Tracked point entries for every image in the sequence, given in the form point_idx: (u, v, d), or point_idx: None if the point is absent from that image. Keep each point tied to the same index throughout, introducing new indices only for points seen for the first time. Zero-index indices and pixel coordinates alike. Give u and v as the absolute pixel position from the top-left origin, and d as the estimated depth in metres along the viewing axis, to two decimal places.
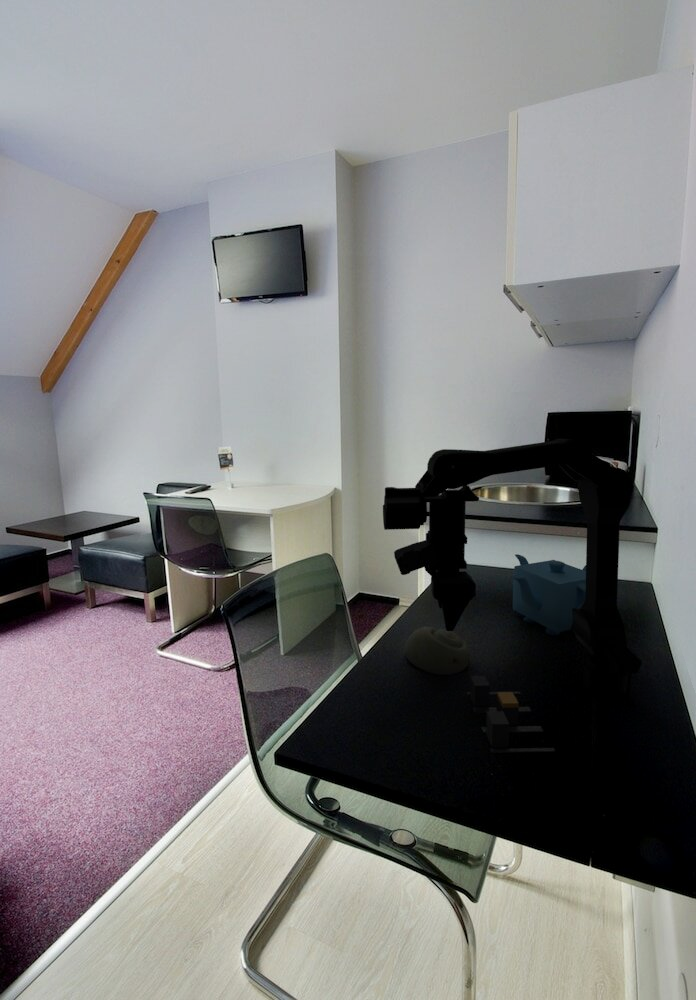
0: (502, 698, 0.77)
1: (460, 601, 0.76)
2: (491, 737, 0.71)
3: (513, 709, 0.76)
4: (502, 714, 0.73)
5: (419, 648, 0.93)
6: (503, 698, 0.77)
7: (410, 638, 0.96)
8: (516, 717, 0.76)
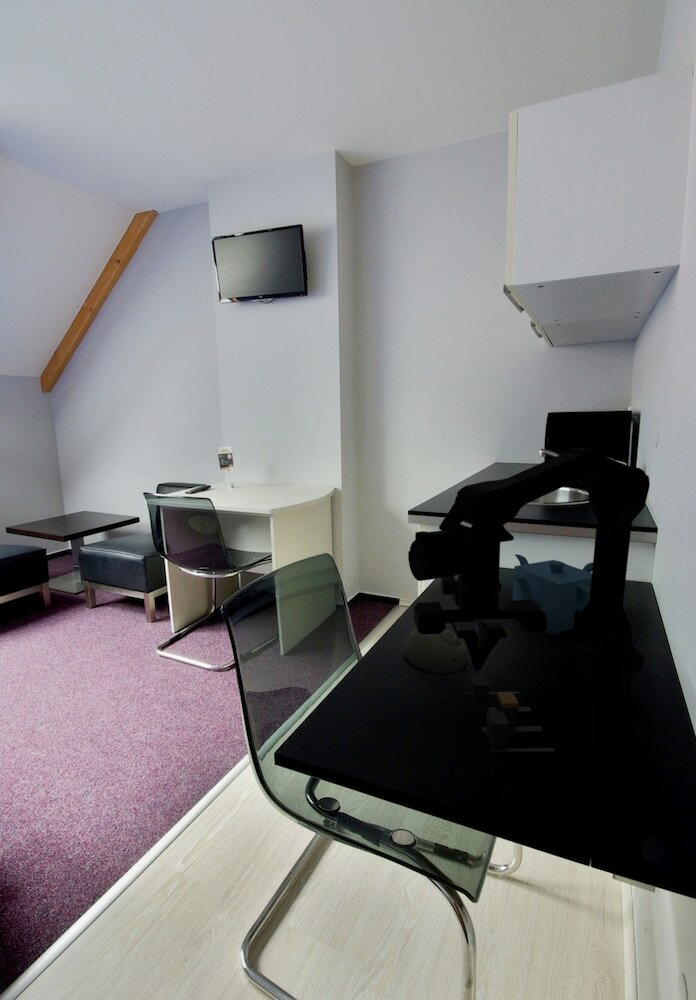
0: (502, 698, 0.77)
1: None
2: (491, 737, 0.71)
3: (513, 709, 0.76)
4: (502, 714, 0.73)
5: (418, 647, 0.93)
6: (503, 698, 0.77)
7: (408, 637, 0.97)
8: (516, 717, 0.76)
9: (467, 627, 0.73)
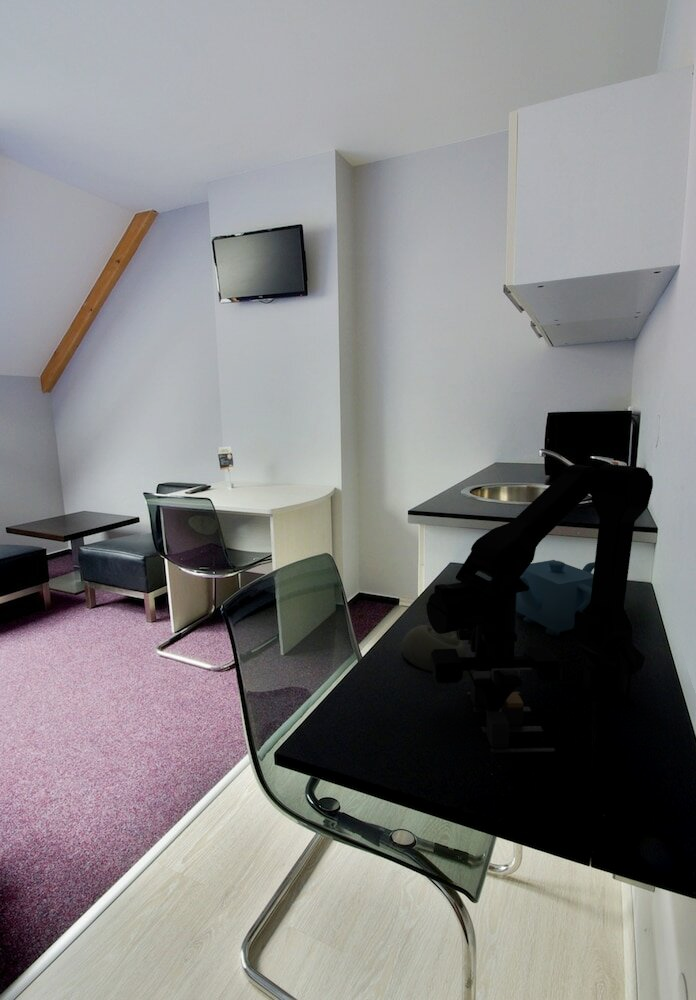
0: (507, 698, 0.77)
1: None
2: (491, 737, 0.71)
3: (517, 709, 0.76)
4: (502, 714, 0.73)
5: (417, 646, 0.93)
6: (508, 698, 0.77)
7: (407, 637, 0.97)
8: (521, 717, 0.76)
9: (484, 676, 0.74)
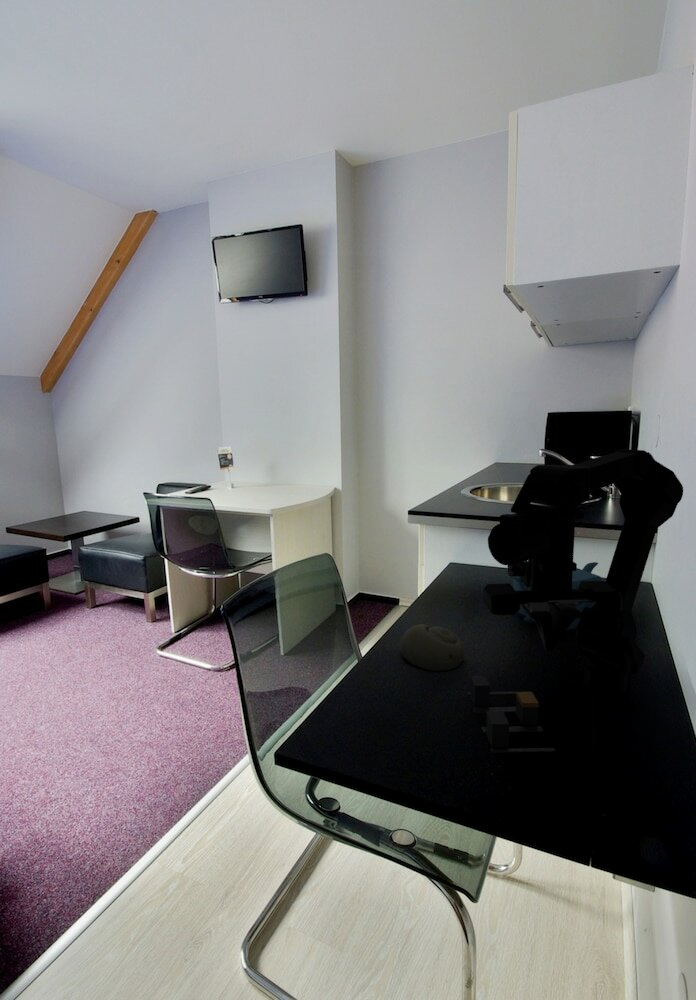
0: (522, 698, 0.77)
1: None
2: (491, 737, 0.71)
3: (533, 708, 0.76)
4: (502, 714, 0.73)
5: (415, 645, 0.94)
6: (523, 698, 0.77)
7: (405, 636, 0.97)
8: (536, 717, 0.76)
9: (541, 608, 0.72)
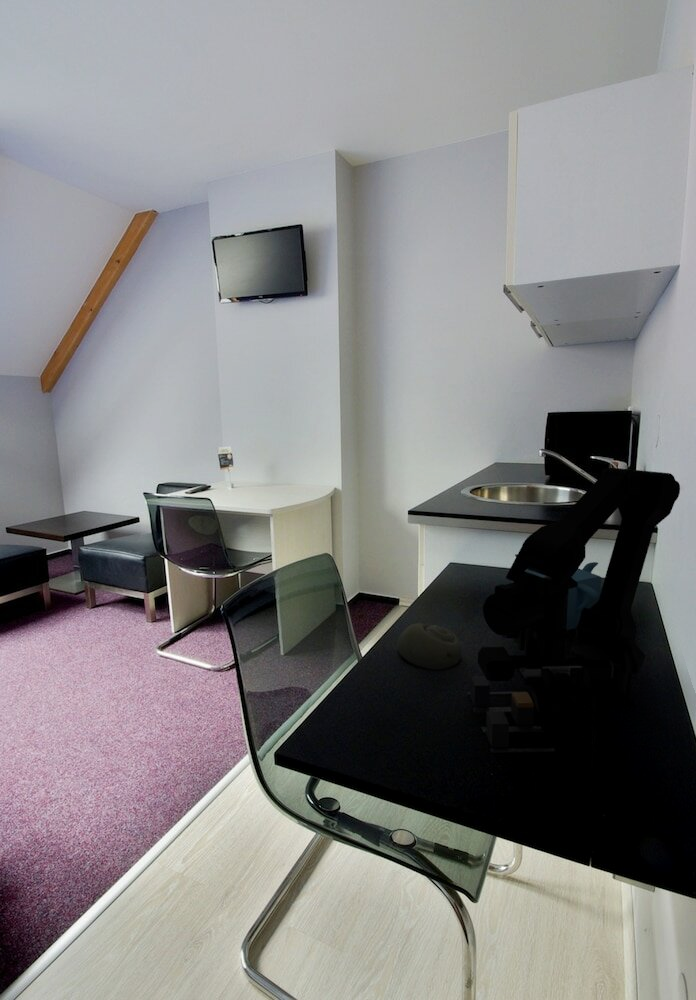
0: (517, 698, 0.77)
1: None
2: (491, 737, 0.71)
3: (528, 709, 0.76)
4: (502, 714, 0.73)
5: (414, 644, 0.94)
6: (518, 698, 0.77)
7: (403, 635, 0.98)
8: (531, 717, 0.76)
9: (535, 674, 0.74)
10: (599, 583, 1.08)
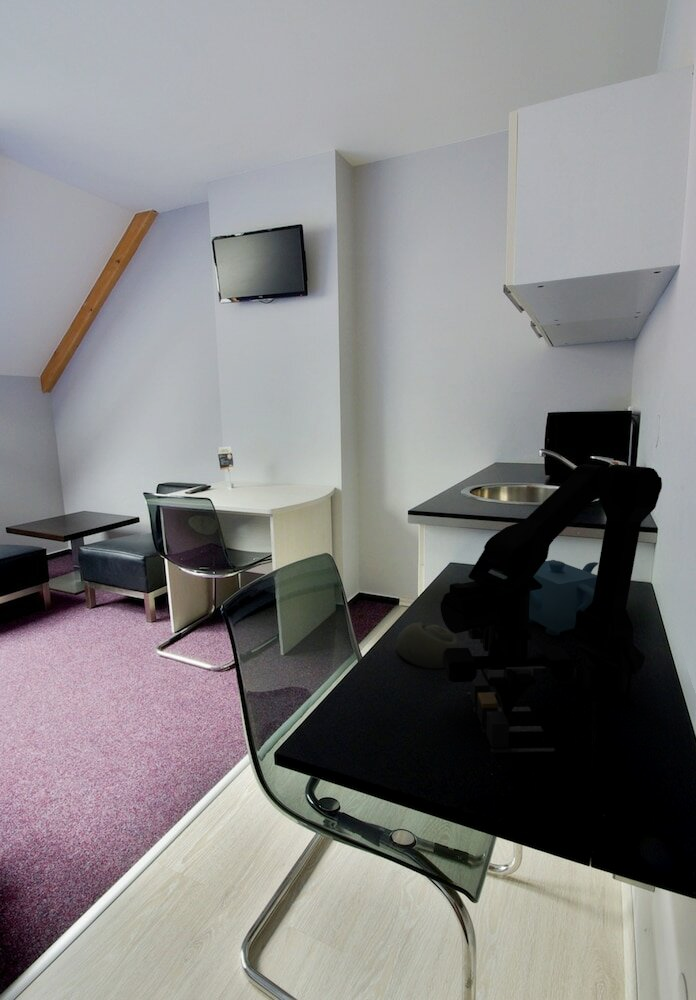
0: (482, 698, 0.77)
1: None
2: (491, 737, 0.71)
3: (492, 709, 0.76)
4: (502, 714, 0.73)
5: (413, 643, 0.94)
6: (483, 698, 0.77)
7: (402, 634, 0.98)
8: None
9: (498, 674, 0.74)
10: None
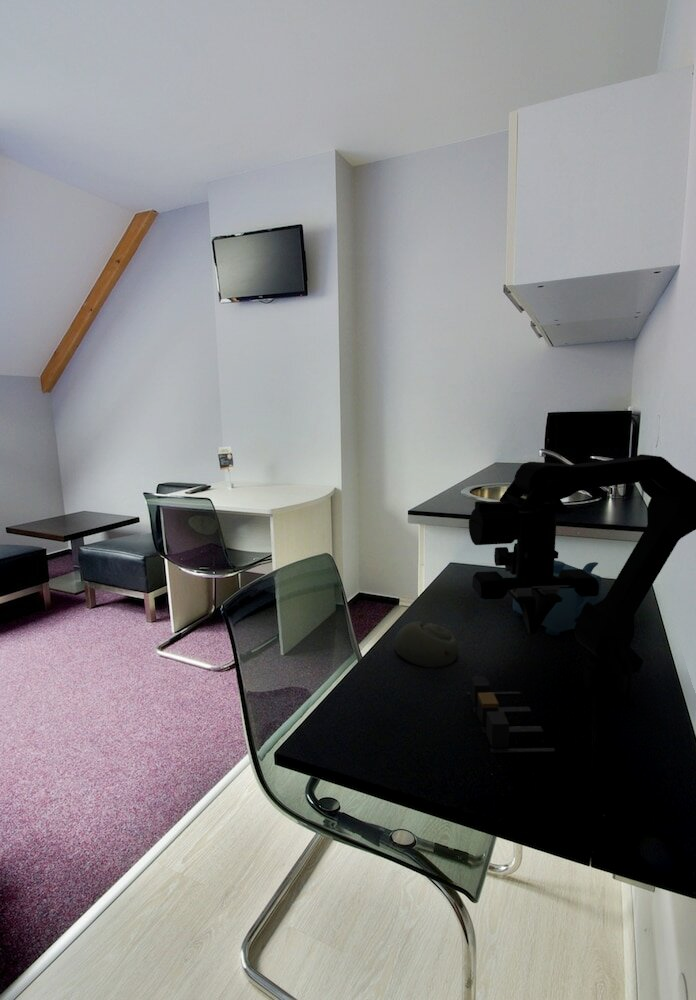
0: (482, 698, 0.77)
1: None
2: (491, 737, 0.71)
3: (493, 709, 0.76)
4: (502, 714, 0.73)
5: (411, 642, 0.95)
6: (483, 698, 0.77)
7: (400, 634, 0.98)
8: None
9: (526, 593, 0.79)
10: (599, 583, 1.08)
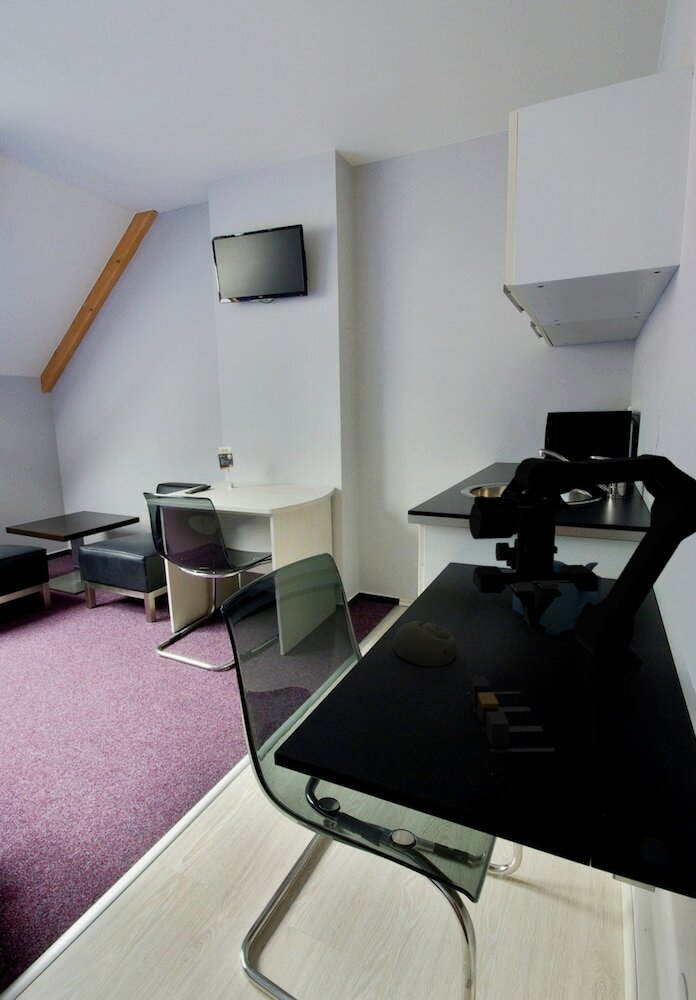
0: (482, 698, 0.77)
1: None
2: (491, 737, 0.71)
3: (493, 709, 0.76)
4: (502, 714, 0.73)
5: (410, 642, 0.95)
6: (483, 698, 0.77)
7: (399, 633, 0.99)
8: None
9: (525, 587, 0.79)
10: (599, 583, 1.08)
